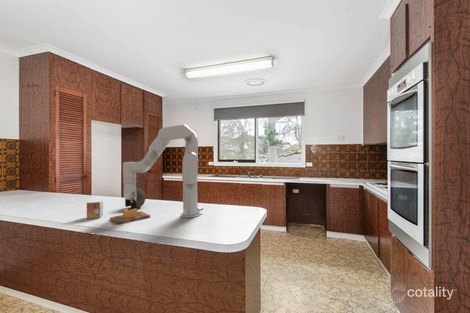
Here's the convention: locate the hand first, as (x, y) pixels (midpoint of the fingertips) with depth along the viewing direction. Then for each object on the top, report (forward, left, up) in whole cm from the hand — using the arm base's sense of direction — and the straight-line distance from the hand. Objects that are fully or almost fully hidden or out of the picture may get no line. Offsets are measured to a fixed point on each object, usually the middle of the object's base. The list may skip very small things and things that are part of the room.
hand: (130, 207), depth 143 cm
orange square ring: (0, 0, -6) cm, 6 cm away
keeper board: (0, 0, -7) cm, 7 cm away
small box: (+15, -20, -7) cm, 26 cm away
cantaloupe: (-14, -26, -7) cm, 30 cm away
